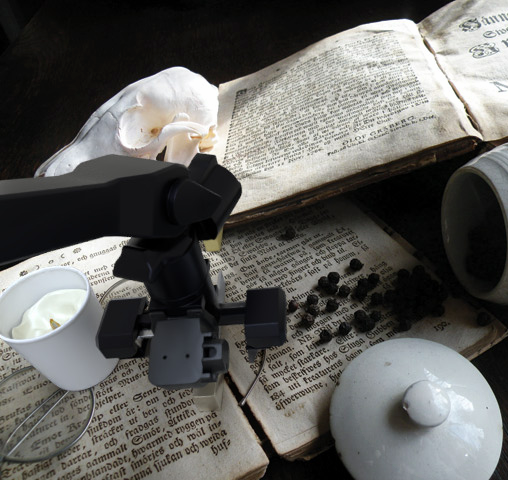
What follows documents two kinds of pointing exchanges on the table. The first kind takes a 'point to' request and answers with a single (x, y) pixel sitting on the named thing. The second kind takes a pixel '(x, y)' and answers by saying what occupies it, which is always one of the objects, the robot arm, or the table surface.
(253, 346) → the robot arm
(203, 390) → the knife
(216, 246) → the butter slice
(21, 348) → the candle holder
